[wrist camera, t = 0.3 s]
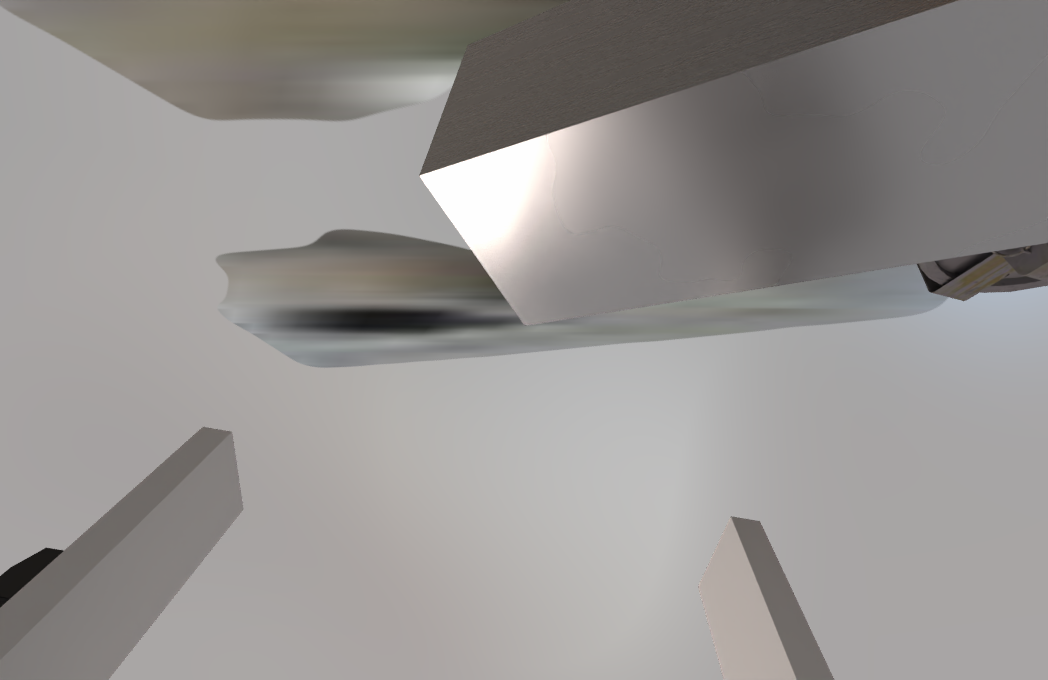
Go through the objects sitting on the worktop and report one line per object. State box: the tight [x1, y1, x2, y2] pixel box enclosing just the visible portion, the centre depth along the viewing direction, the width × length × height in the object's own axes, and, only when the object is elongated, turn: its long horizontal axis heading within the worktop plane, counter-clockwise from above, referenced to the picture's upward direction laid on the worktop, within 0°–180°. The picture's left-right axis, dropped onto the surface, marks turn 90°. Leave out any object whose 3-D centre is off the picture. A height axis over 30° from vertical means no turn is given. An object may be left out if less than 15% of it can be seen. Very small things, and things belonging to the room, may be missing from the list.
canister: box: [917, 243, 1048, 301], centre depth 27 cm, size 11×10×20 cm
